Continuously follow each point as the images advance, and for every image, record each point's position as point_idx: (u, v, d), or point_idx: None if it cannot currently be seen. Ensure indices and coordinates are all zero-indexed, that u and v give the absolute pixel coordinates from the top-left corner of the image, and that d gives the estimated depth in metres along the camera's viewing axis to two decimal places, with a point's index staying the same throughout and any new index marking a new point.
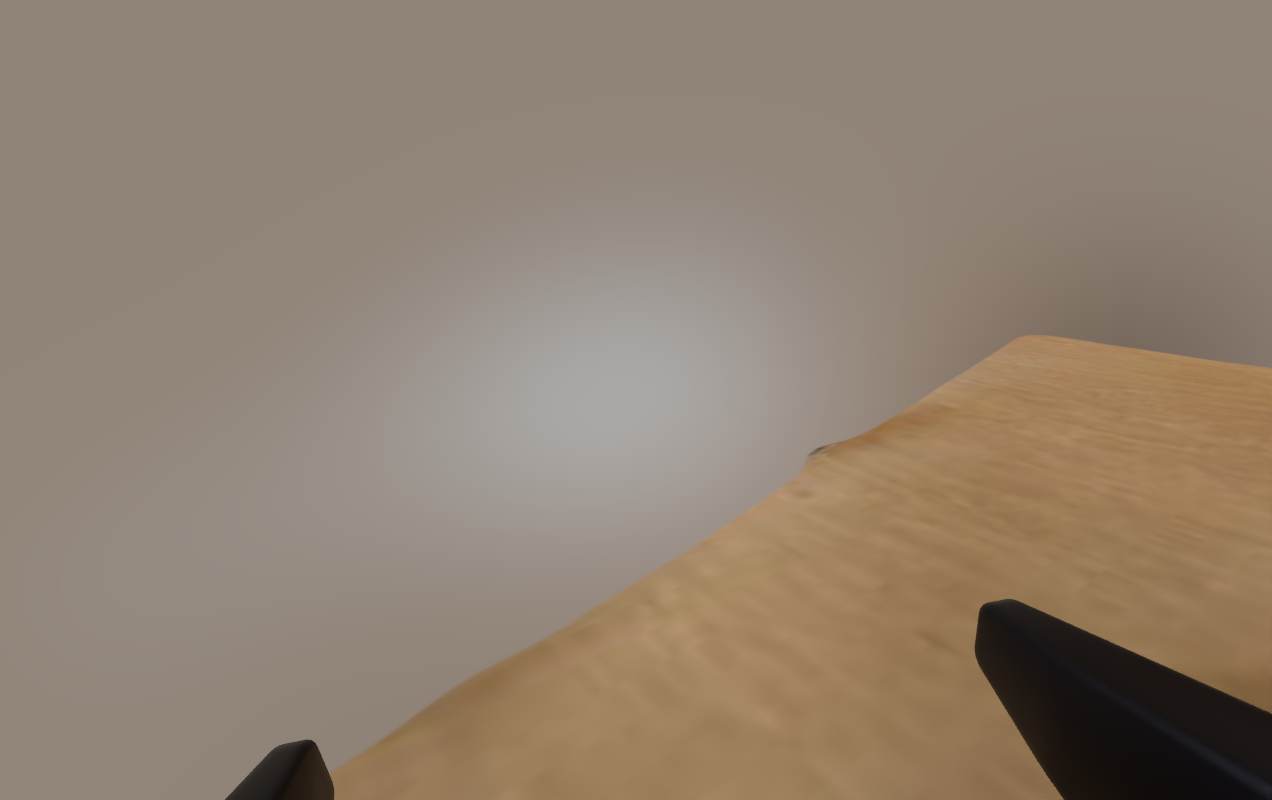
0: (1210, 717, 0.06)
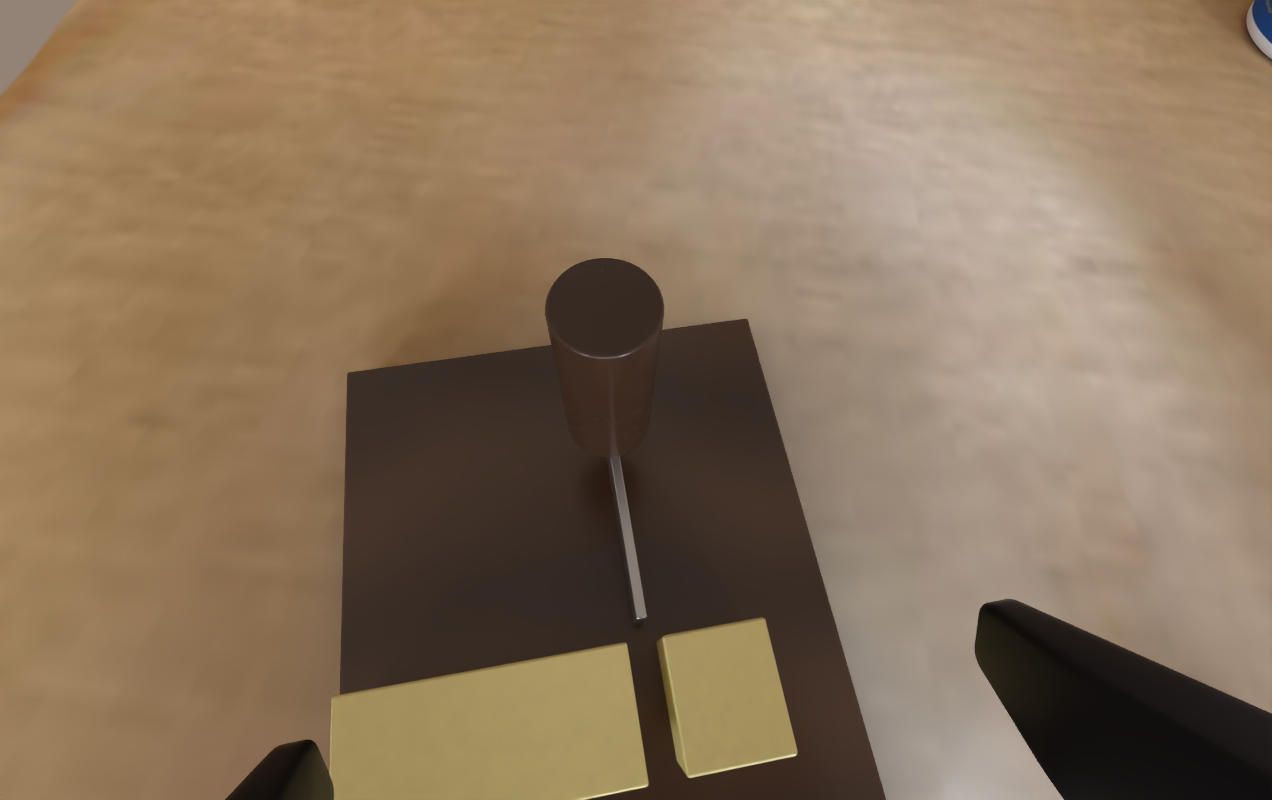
0: (1210, 717, 0.06)
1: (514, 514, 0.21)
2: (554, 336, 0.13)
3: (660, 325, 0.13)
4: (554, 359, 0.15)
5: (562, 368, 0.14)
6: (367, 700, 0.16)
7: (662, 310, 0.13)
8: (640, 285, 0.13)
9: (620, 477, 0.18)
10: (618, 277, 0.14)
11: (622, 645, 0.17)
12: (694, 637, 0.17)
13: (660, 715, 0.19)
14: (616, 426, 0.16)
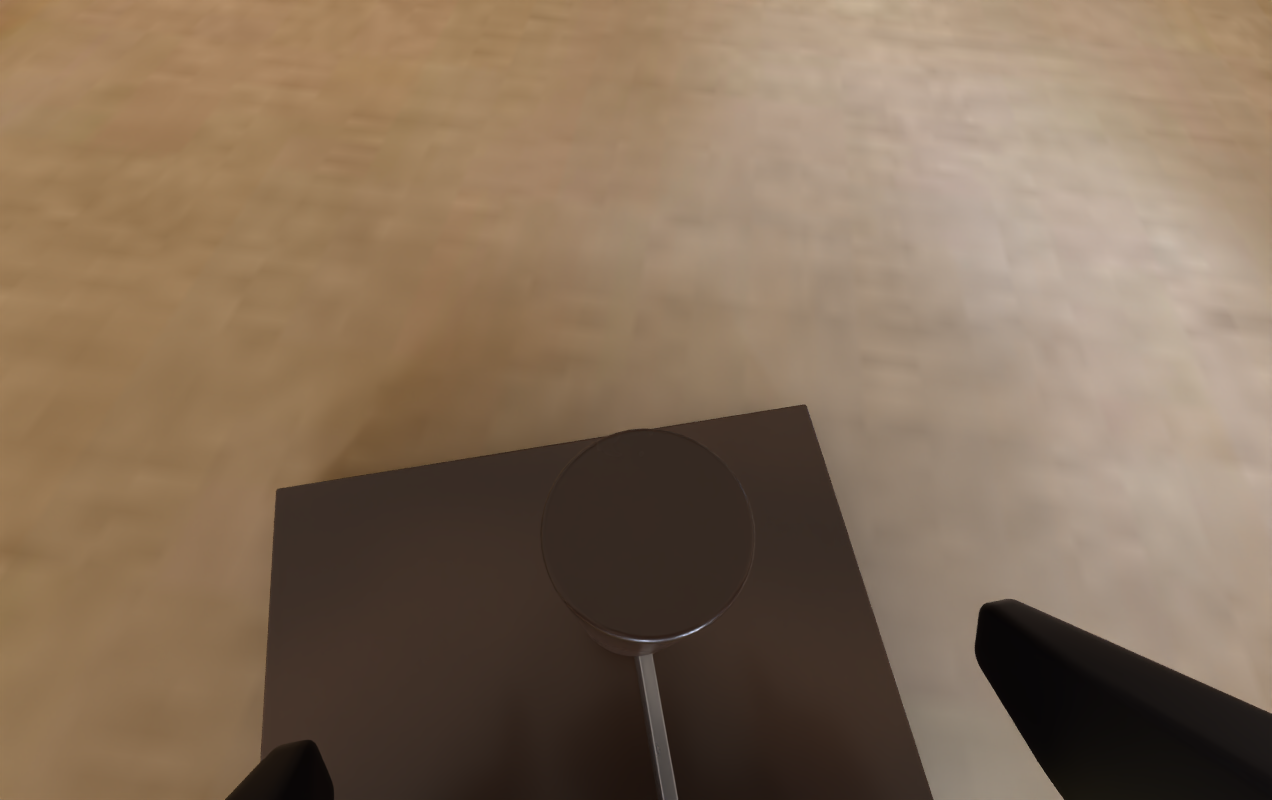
0: (1210, 717, 0.06)
1: (500, 699, 0.15)
2: (558, 593, 0.07)
3: (750, 564, 0.07)
4: None
5: None
6: None
7: (753, 535, 0.07)
8: (712, 483, 0.07)
9: (654, 688, 0.12)
10: (670, 468, 0.08)
11: None
12: None
13: None
14: (655, 650, 0.10)
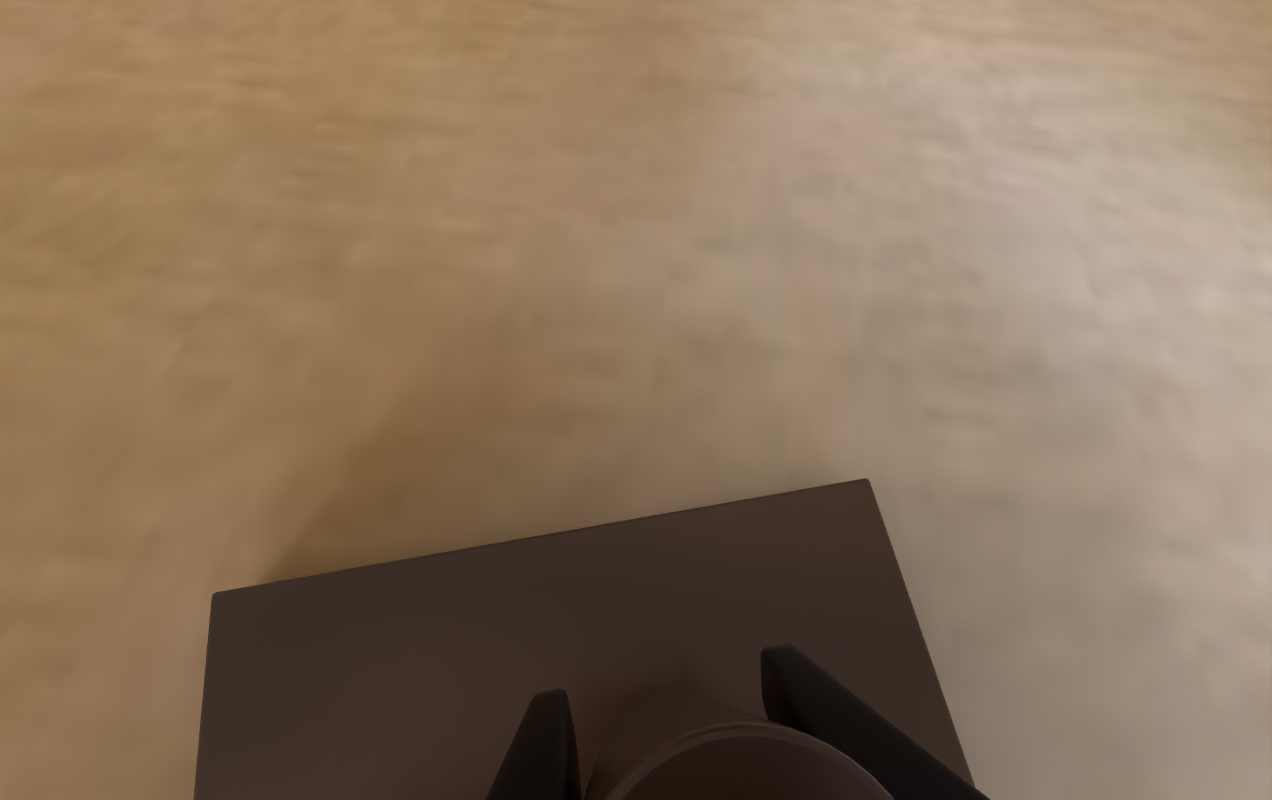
0: (907, 787, 0.06)
1: None
2: None
3: None
4: None
5: None
6: None
7: None
8: None
9: None
10: None
11: None
12: None
13: None
14: None
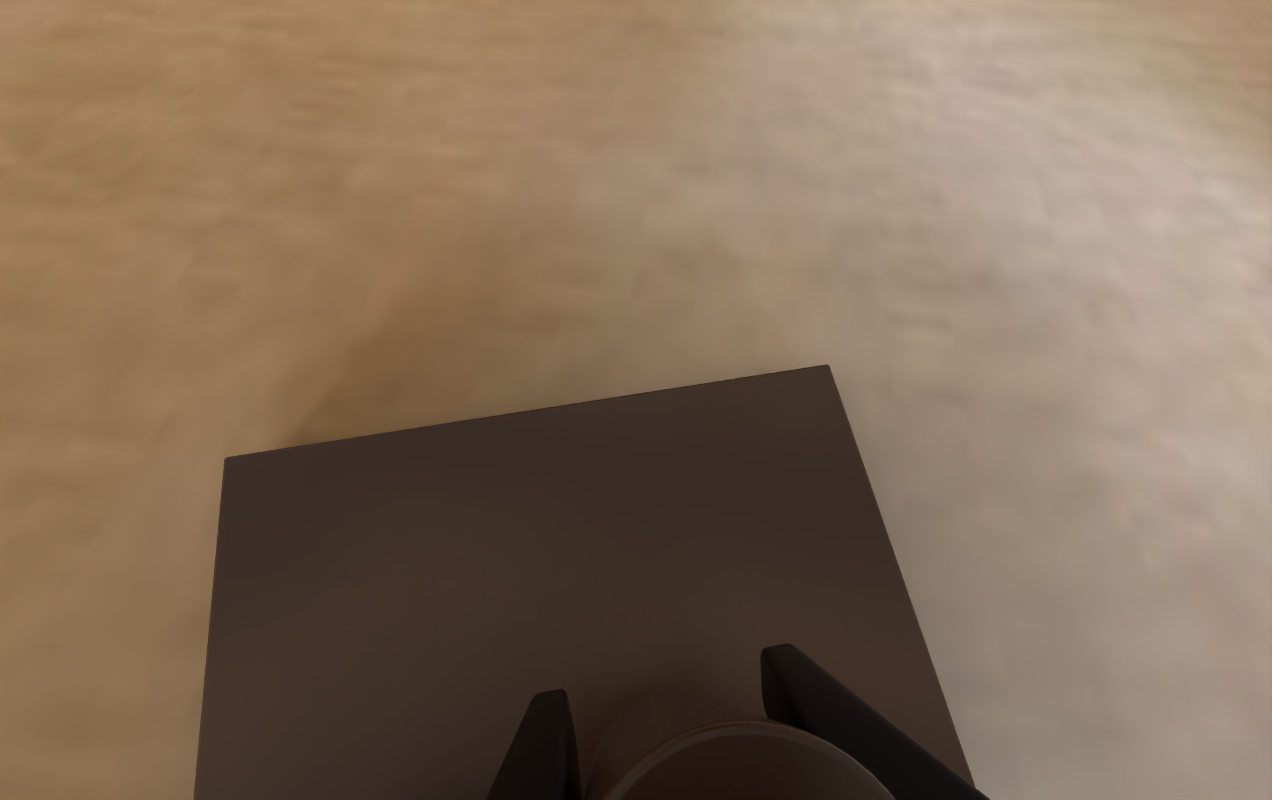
0: (907, 787, 0.06)
1: (479, 697, 0.13)
2: None
3: None
4: None
5: None
6: None
7: None
8: None
9: None
10: None
11: None
12: None
13: None
14: None
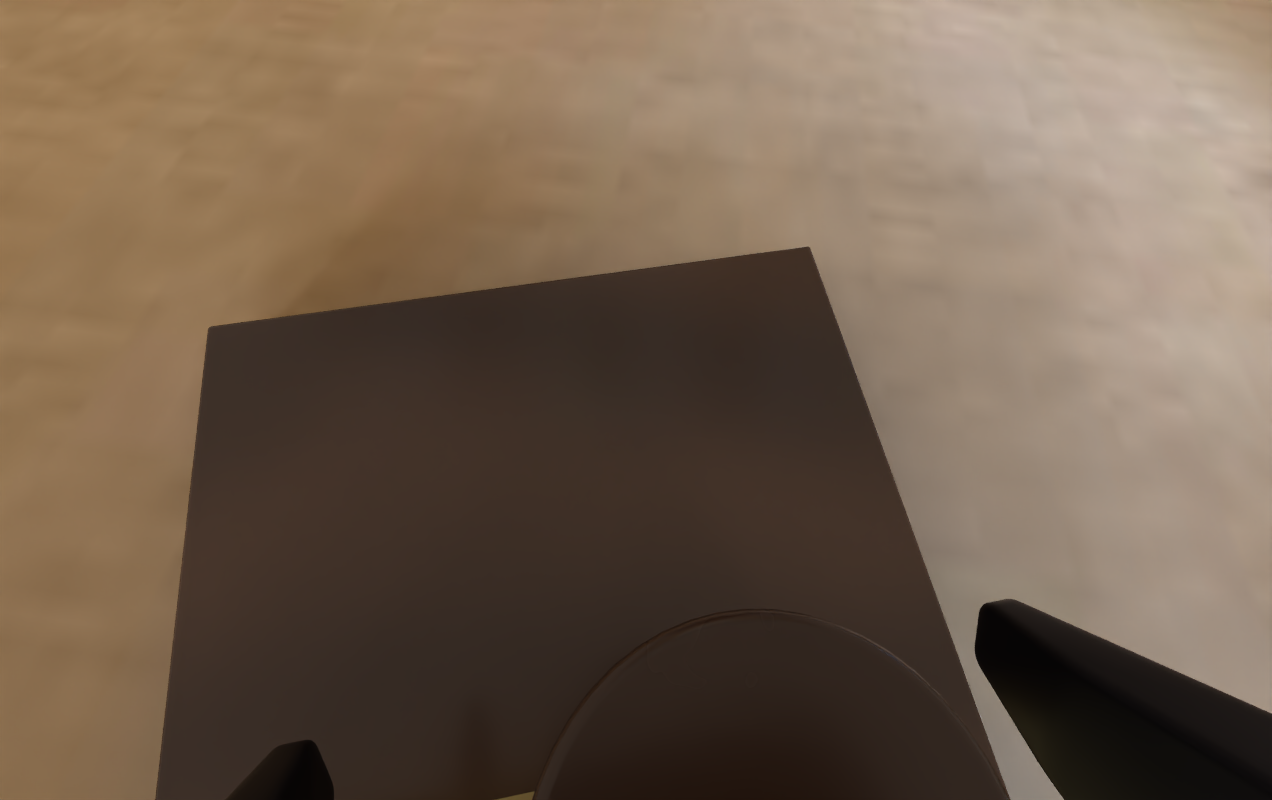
0: (1210, 717, 0.06)
1: (457, 545, 0.13)
2: None
3: None
4: None
5: None
6: None
7: None
8: (920, 756, 0.03)
9: None
10: (821, 718, 0.03)
11: None
12: None
13: None
14: None
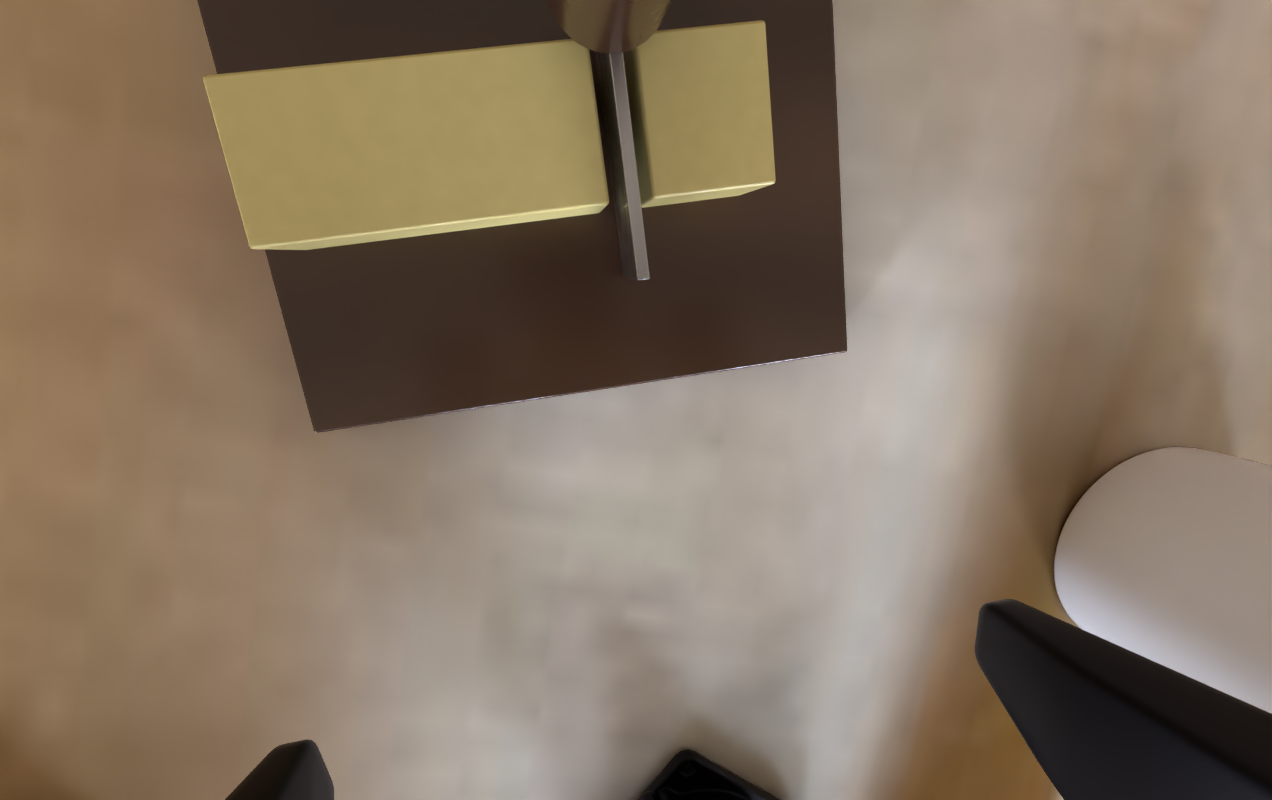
0: (1210, 717, 0.06)
1: None
2: None
3: None
4: None
5: None
6: (252, 84, 0.13)
7: None
8: None
9: (623, 87, 0.13)
10: None
11: None
12: (674, 38, 0.13)
13: None
14: (633, 6, 0.10)
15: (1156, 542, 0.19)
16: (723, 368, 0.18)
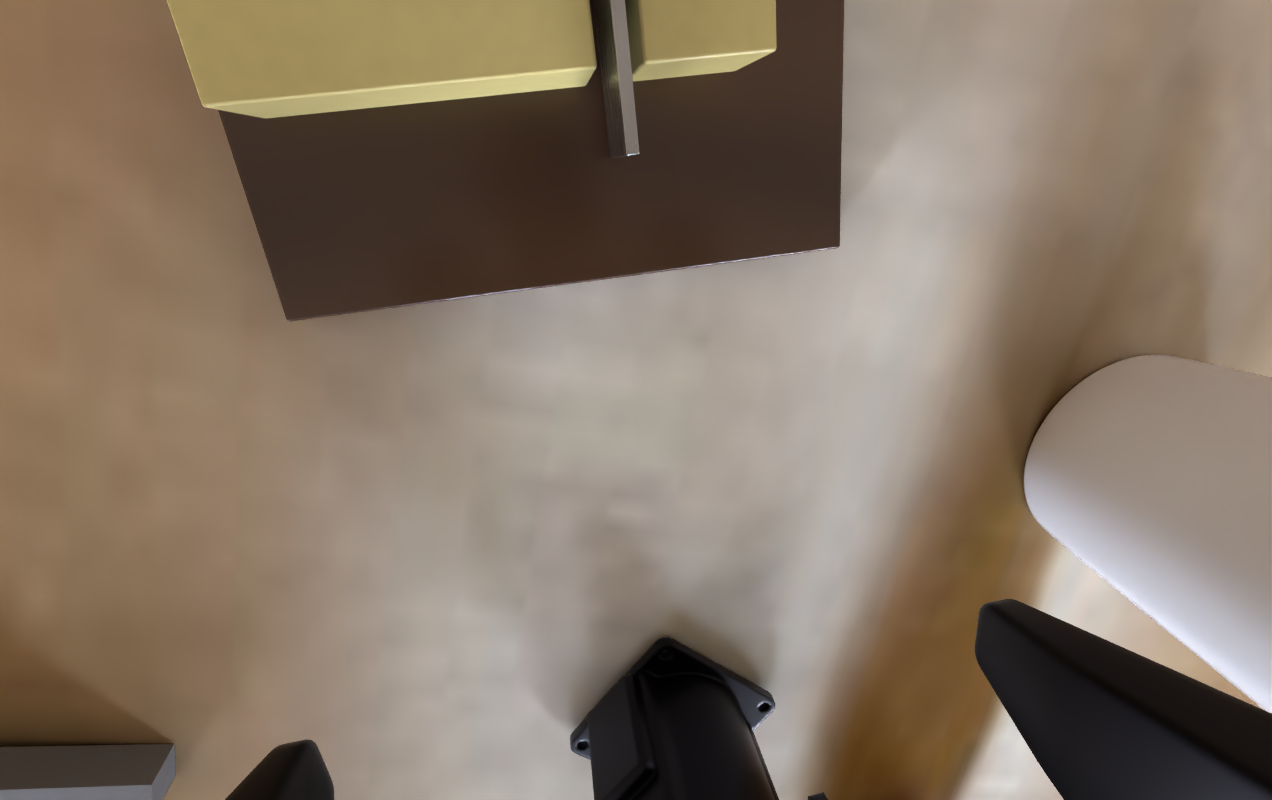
0: (1210, 717, 0.06)
1: None
2: None
3: None
4: None
5: None
6: None
7: None
8: None
9: None
10: None
11: None
12: None
13: None
14: None
15: (1125, 444, 0.20)
16: (712, 262, 0.18)
